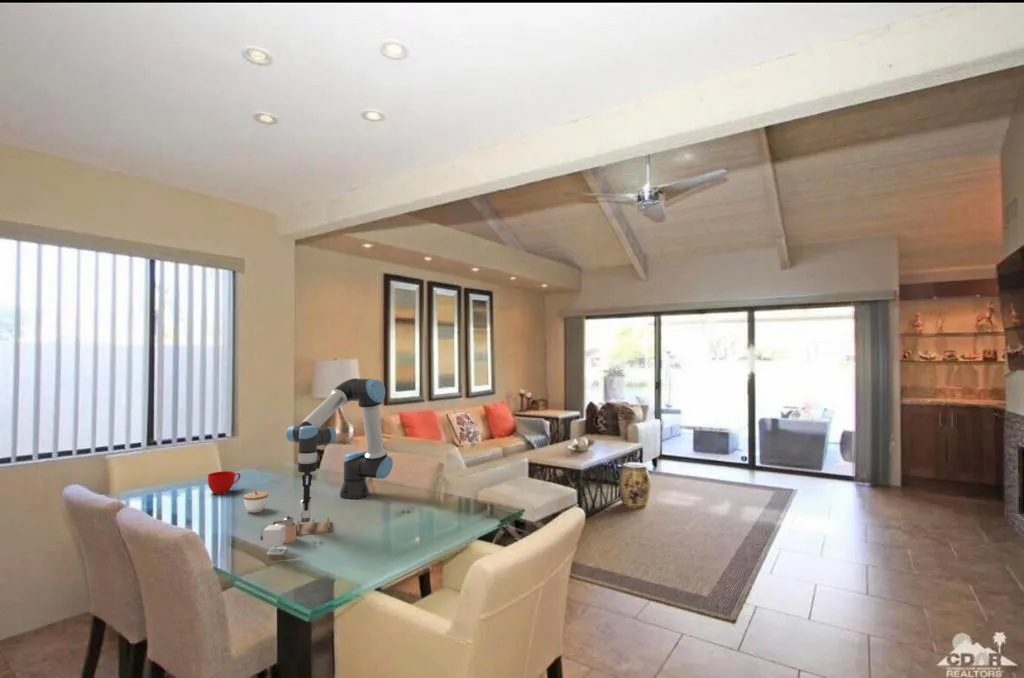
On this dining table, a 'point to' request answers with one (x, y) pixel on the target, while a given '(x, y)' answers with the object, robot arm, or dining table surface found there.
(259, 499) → the lidded jar
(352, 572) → the dining table surface
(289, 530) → the octagonal tan cylinder
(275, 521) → the cradle
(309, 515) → the cell
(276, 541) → the security camera
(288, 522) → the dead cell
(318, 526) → the trough board
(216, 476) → the ceramic cup
